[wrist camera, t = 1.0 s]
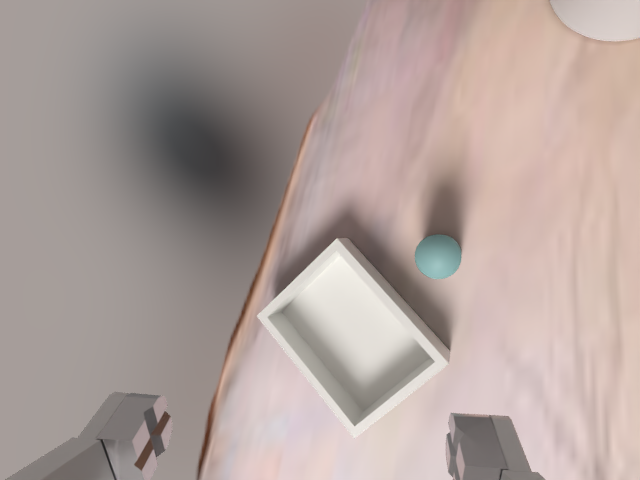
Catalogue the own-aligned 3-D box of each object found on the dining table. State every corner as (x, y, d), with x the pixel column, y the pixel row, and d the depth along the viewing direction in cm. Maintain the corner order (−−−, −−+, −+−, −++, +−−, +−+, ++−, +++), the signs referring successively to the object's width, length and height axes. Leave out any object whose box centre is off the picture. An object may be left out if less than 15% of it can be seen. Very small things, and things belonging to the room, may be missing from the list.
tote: (348, 238, 52) (336, 238, 47) (450, 351, 48) (449, 363, 43) (274, 309, 55) (256, 316, 51) (364, 420, 51) (354, 438, 47)
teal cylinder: (442, 226, 48) (438, 225, 41) (469, 254, 47) (471, 258, 40) (414, 252, 49) (405, 255, 42) (440, 280, 48) (436, 288, 41)
